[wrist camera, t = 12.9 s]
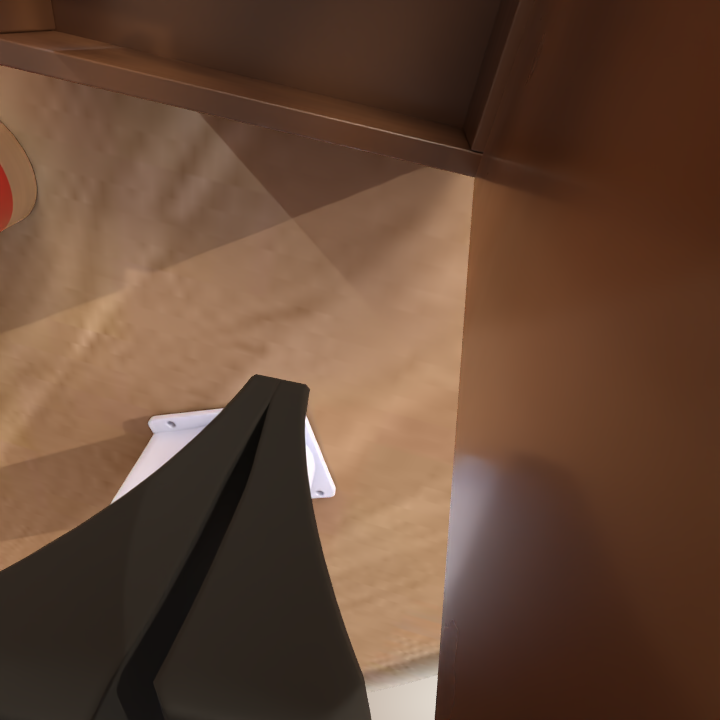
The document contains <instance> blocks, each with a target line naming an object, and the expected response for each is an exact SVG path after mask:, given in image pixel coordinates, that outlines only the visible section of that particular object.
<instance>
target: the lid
mask: <svg viewBox="0 0 720 720" xmlns="http://www.w3.org/2000/svg"><path fill="white" fill-rule="evenodd" d="M435 720H720V0H535V2H534V5H533V8H532V11H531V14H530V17H529V20H528V23H527V25H526V28H525V31H524V34H523V37H522V40H521V43H520V46H519V49H518V52H517V55H516V58H515V61H514V64H513V67H512V70H511V73H510V76H509V79H508V81H507V84H506V87H505V90H504V93H503V96H502V99H501V102H500V105H499V108H498V111H497V114H496V117H495V120H494V123H493V126H492V129H491V132H490V135H489V138H488V140H487V143H486V146H485V149H484V152H483V155H482V158H481V161H480V164H479V167H478V170H477V173H476V176H475V179H474V191H473V205H472V218H471V232H470V245H469V259H468V273H467V286H466V300H465V314H464V327H463V341H462V355H461V368H460V382H459V396H458V409H457V423H456V437H455V450H454V464H453V478H452V491H451V505H450V519H449V532H448V546H447V560H446V573H445V587H444V601H443V614H442V628H441V642H440V655H439V669H438V683H437V696H436V710H435Z"/></svg>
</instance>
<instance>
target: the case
mask: <svg viewBox="0 0 720 720" xmlns="http://www.w3.org/2000/svg"><path fill="white" fill-rule="evenodd" d="M534 2H535V0H0V65H2V66H6V67H11V68H15V69H19V70H23V71H28V72H32V73H36V74H40V75H44V76H49V77H53V78H57V79H61V80H66V81H70V82H74V83H78V84H83V85H87V86H91V87H95V88H99V89H104V90H108V91H112V92H116V93H121V94H125V95H129V96H133V97H137V98H142V99H146V100H150V101H154V102H159V103H163V104H167V105H171V106H175V107H180V108H184V109H188V110H192V111H197V112H201V113H205V114H209V115H213V116H218V117H222V118H226V119H230V120H235V121H239V122H243V123H247V124H251V125H256V126H260V127H264V128H268V129H273V130H277V131H281V132H285V133H289V134H294V135H298V136H302V137H306V138H311V139H315V140H319V141H323V142H327V143H332V144H336V145H340V146H344V147H349V148H353V149H357V150H361V151H365V152H370V153H374V154H378V155H382V156H387V157H391V158H395V159H399V160H403V161H408V162H412V163H416V164H420V165H425V166H429V167H433V168H437V169H441V170H446V171H450V172H454V173H458V174H463V175H467V176H471V177H475V176H476V173H477V170H478V167H479V164H480V161H481V158H482V155H483V152H484V149H485V146H486V143H487V140H488V138H489V135H490V132H491V129H492V126H493V123H494V120H495V117H496V114H497V111H498V108H499V105H500V102H501V99H502V96H503V93H504V90H505V87H506V84H507V81H508V79H509V76H510V73H511V70H512V67H513V64H514V61H515V58H516V55H517V52H518V49H519V46H520V43H521V40H522V37H523V34H524V31H525V28H526V25H527V23H528V20H529V17H530V14H531V11H532V8H533V5H534Z"/></svg>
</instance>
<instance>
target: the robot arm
mask: <svg viewBox="0 0 720 720" xmlns="http://www.w3.org/2000/svg"><path fill="white" fill-rule="evenodd" d="M309 391H310V389H309V388H308V386H307V385H306V384H301V383H296V382H291V381H286V380H281V379H277V378H272V377H267V376H262V375H257V374H256V375H254V376H252V377H251V378H250V379H249V381H248V382H247V383H246V384H245V385H244V387H243V388H242V389H241V390H240V391H239V392H238V394H237V395H236V396H235V397H234V398H233V399H232V400H231V401H230V402H229V403H228V405H227V406H226V407H225V408H220V409H212V410H203V411H194V412H185V413H176V414H167V415H158V416H153V417H151V418H150V420H149V421H148V425H149V427H150V429H151V430H152V432H153V433H154V435H153V436H152V438H151V439H150V441H149V443H148V444H147V446H146V447H145V449H144V451H143V452H142V454H141V455H140V457H139V459H138V460H137V462H136V463H135V465H134V467H133V468H132V470H131V471H130V473H129V475H128V476H127V478H126V479H125V481H124V483H123V484H122V486H121V487H120V489H119V491H118V492H117V494H116V495H115V497H114V499H113V500H112V502H111V503H110V505H109V506H107V507H106V508H105V509H103V510H102V511H100V512H99V513H97V514H96V515H94V516H93V517H91V518H90V519H88V520H87V521H85V522H84V523H82V524H80V525H79V526H77V527H76V528H74V529H72V530H71V531H69V532H67V533H66V534H64V535H62V536H61V537H59V538H57V539H56V540H54V541H52V542H51V543H49V544H47V545H46V546H44V547H42V548H41V549H39V550H37V551H36V552H34V553H33V554H31V555H29V556H27V557H26V558H24V559H22V560H20V561H19V562H17V563H15V564H13V565H11V566H9V567H8V568H6V569H4V570H2V571H0V720H371V714H370V709H369V703H368V698H367V693H366V687H365V681H364V677H363V674H362V671H361V669H360V666H359V664H358V661H357V658H356V656H355V653H354V650H353V648H352V645H351V642H350V639H349V636H348V634H347V631H346V628H345V625H344V622H343V619H342V616H341V613H340V610H339V607H338V604H337V601H336V597H335V594H334V590H333V587H332V583H331V580H330V576H329V573H328V569H327V566H326V562H325V559H324V555H323V551H322V547H321V542H320V538H319V534H318V529H317V525H316V520H315V515H314V510H313V504H312V498H324V497H332V496H334V495H335V491H336V488H335V485H334V483H333V480H332V478H331V475H330V473H329V470H328V468H327V465H326V463H325V461H324V458H323V456H322V453H321V451H320V448H319V446H318V443H317V441H316V438H315V436H314V433H313V431H312V429H311V426H310V424H309V421H308V419H307V416H306V412H307V405H308V398H309ZM173 422H174V423H173Z"/></svg>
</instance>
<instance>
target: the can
mask: <svg viewBox="0 0 720 720" xmlns="http://www.w3.org/2000/svg"><path fill="white" fill-rule="evenodd" d="M36 195H37V186H36V179H35V175H34V172H33V168H32V166H31V163H30V161H29V159H28V157H27V155H26V153H25V151H24V150H23V148H22V147H21V145H20V144H19V142H18V141H17V139H16V138H15V137H14V136H13V134H12V133H11V132H10V131H9V130H8V129H7V128H6V127H5V126H4V124H3V123H1V122H0V232H1V231H2V230H4V229H6V228H8V227H10V226H12V225H13V224H15V223H17V222H19V221H21V220H23V219H24V218H25V217H27V216H28V215H29V213H30V212H31V211H32V209H33V207H34V205H35V201H36Z"/></svg>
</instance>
